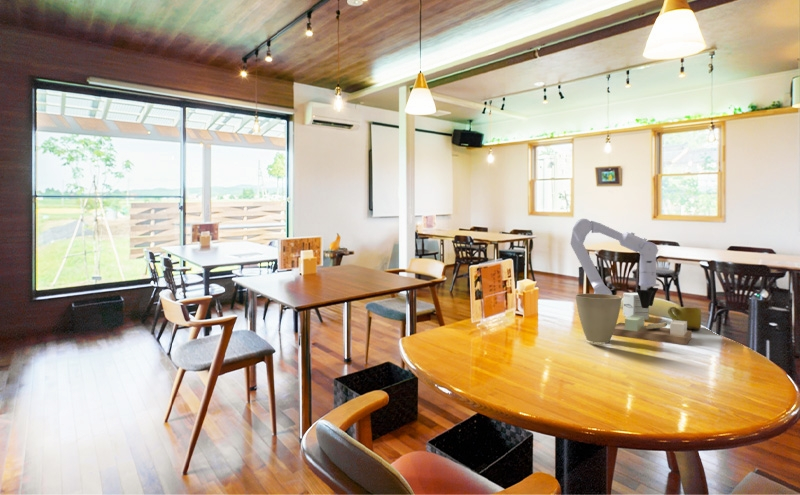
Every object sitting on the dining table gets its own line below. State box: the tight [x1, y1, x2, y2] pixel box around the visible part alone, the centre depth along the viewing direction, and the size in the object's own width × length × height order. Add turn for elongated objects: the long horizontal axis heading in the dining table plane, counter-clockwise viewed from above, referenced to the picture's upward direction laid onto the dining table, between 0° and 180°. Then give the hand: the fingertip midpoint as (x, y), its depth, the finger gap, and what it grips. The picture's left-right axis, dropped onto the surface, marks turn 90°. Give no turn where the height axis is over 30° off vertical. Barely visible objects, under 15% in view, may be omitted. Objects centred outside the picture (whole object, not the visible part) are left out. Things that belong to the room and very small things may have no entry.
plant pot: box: [575, 293, 623, 344], centre depth 152 cm, size 15×15×16 cm
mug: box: [667, 306, 702, 331], centre depth 169 cm, size 12×10×10 cm
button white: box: [669, 320, 688, 336], centre depth 153 cm, size 4×8×4 cm, turn 140°
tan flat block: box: [645, 321, 668, 329], centre depth 158 cm, size 6×5×1 cm
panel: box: [612, 322, 693, 346], centre depth 160 cm, size 24×14×4 cm, turn 50°
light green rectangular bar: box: [624, 315, 645, 331], centre depth 162 cm, size 4×12×4 cm, turn 140°
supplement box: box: [622, 292, 650, 321], centre depth 185 cm, size 7×7×13 cm
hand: (647, 306), depth 169 cm, fingers open, 7 cm apart
